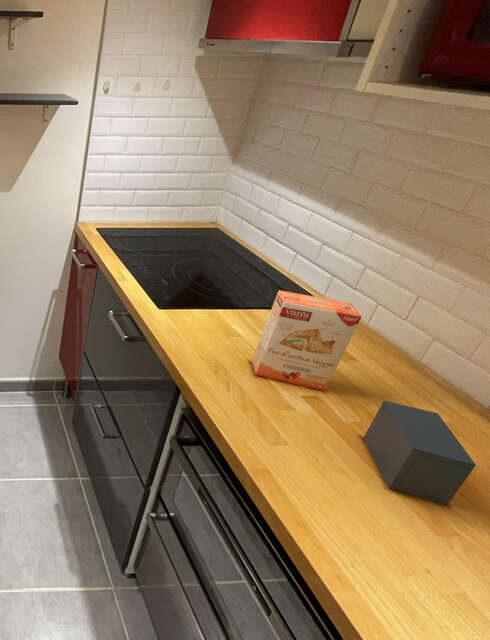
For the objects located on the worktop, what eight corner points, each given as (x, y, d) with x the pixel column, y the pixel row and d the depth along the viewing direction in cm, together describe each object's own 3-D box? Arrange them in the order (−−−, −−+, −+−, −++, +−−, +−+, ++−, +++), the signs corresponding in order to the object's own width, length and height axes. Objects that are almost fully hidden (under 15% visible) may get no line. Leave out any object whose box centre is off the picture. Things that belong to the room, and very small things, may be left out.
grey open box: (414, 451, 86) (438, 413, 82) (447, 505, 76) (476, 465, 72) (363, 437, 89) (383, 400, 85) (388, 488, 79) (413, 448, 75)
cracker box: (255, 376, 105) (284, 301, 96) (250, 361, 110) (277, 288, 102) (326, 393, 100) (363, 315, 92) (318, 376, 106) (352, 301, 97)
